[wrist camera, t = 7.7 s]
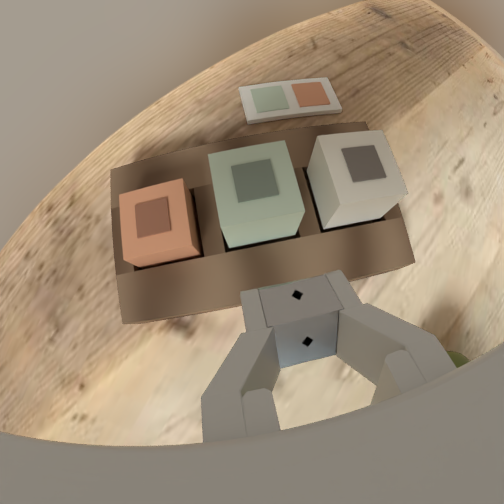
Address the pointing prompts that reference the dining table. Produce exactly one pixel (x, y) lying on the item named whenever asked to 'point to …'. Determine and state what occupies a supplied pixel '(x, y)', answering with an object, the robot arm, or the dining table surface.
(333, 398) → the dining table surface
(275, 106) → the tile
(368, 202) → the key ivory
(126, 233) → the key rust
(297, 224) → the key sage
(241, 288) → the keypad base
